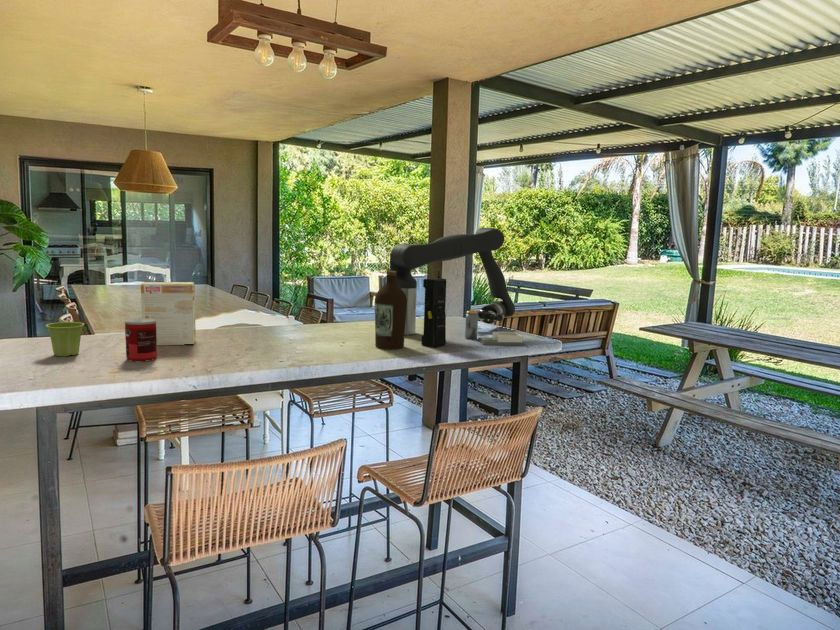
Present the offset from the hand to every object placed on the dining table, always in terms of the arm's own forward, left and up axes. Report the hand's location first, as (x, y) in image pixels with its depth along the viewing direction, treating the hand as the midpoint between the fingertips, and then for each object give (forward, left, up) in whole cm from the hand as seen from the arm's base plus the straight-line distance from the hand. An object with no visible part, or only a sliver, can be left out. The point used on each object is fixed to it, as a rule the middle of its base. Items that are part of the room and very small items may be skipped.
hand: (479, 317), depth 223 cm
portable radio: (-21, -22, -7) cm, 31 cm away
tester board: (+4, -16, -7) cm, 18 cm away
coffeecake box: (-106, -23, -7) cm, 108 cm away
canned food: (-107, -46, -7) cm, 116 cm away
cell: (-5, -8, -7) cm, 12 cm away
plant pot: (-129, -41, -7) cm, 135 cm away
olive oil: (-36, -25, -7) cm, 44 cm away
